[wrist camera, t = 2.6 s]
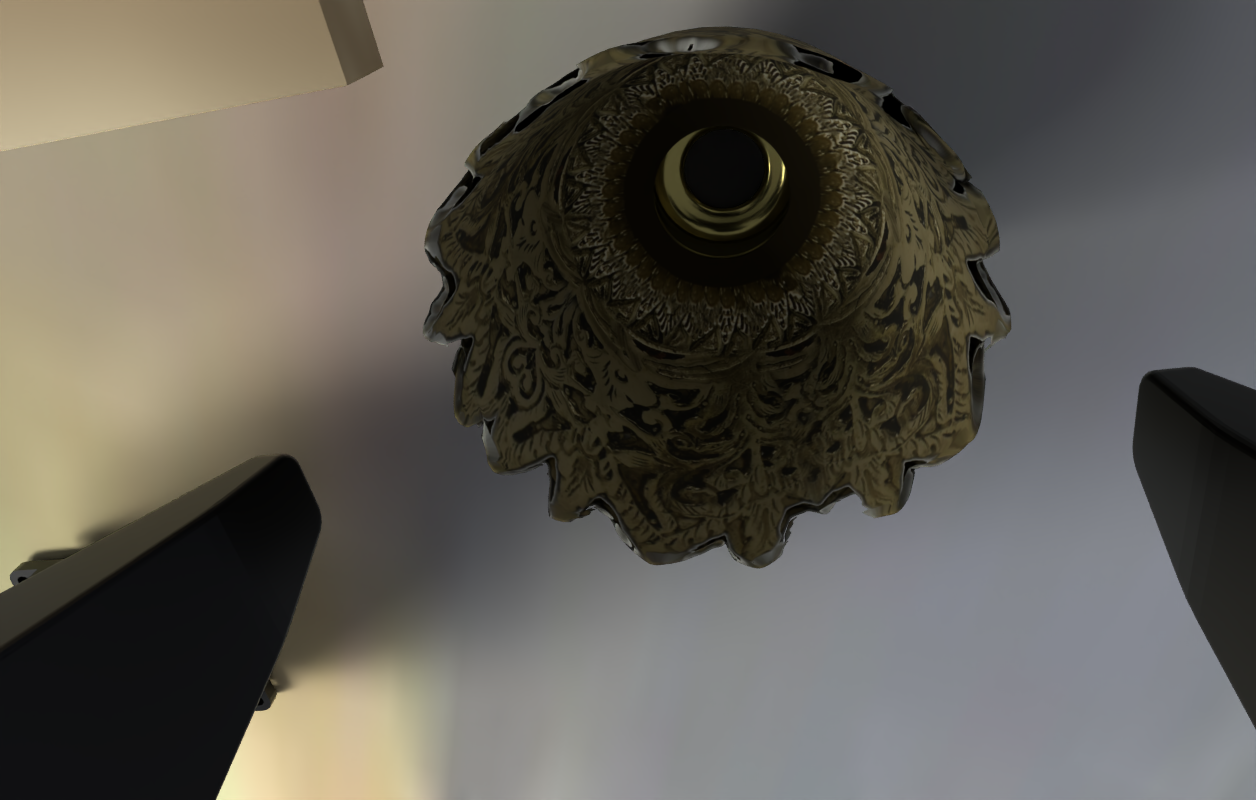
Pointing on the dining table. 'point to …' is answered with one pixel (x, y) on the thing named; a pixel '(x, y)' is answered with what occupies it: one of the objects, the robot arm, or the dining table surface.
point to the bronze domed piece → (716, 295)
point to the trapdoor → (167, 59)
